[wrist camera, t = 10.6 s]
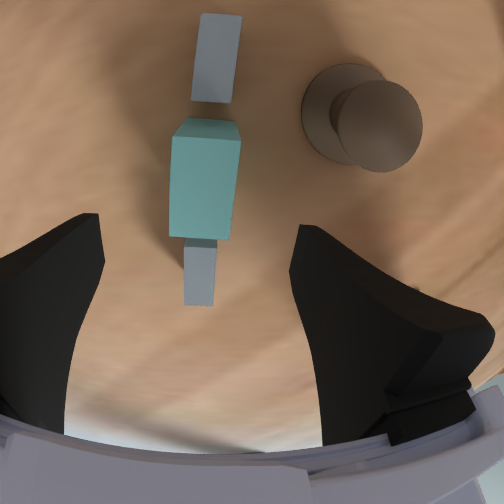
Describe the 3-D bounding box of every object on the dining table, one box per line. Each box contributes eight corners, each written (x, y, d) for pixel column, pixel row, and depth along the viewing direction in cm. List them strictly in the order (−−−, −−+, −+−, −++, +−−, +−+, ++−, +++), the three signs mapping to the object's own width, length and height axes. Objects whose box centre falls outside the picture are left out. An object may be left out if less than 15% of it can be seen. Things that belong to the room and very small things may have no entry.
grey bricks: (213, 275, 24) (213, 306, 21) (187, 274, 23) (184, 304, 20) (238, 26, 14) (242, 15, 11) (204, 24, 14) (201, 12, 11)
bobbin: (383, 170, 20) (416, 195, 16) (293, 155, 19) (311, 178, 15) (404, 80, 16) (444, 87, 13) (310, 52, 15) (335, 47, 11)
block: (226, 194, 20) (229, 240, 15) (181, 191, 20) (169, 236, 15) (235, 121, 17) (241, 141, 12) (186, 117, 17) (172, 136, 12)
